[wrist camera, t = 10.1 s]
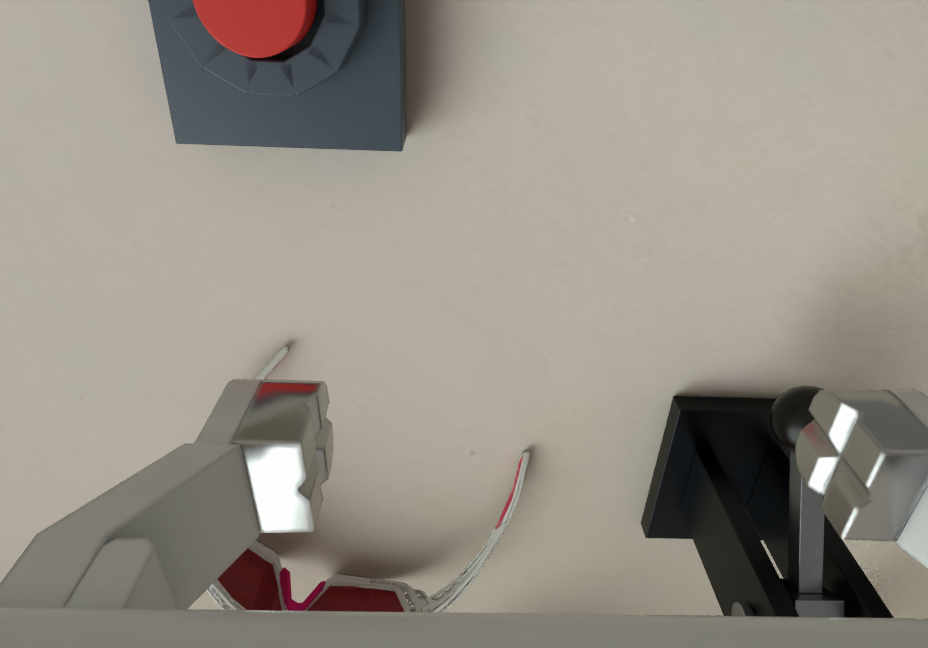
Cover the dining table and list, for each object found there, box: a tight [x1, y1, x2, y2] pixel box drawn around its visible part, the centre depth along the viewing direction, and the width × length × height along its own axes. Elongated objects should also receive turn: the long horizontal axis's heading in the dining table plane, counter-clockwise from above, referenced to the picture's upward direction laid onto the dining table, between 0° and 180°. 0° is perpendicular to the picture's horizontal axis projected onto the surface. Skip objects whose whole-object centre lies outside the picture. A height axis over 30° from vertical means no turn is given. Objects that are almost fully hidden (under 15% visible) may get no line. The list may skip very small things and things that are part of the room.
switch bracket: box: [641, 396, 893, 618], centre depth 32 cm, size 10×8×12 cm
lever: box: [769, 386, 844, 617], centre depth 28 cm, size 12×3×3 cm
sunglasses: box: [206, 346, 530, 613], centre depth 37 cm, size 17×17×5 cm
